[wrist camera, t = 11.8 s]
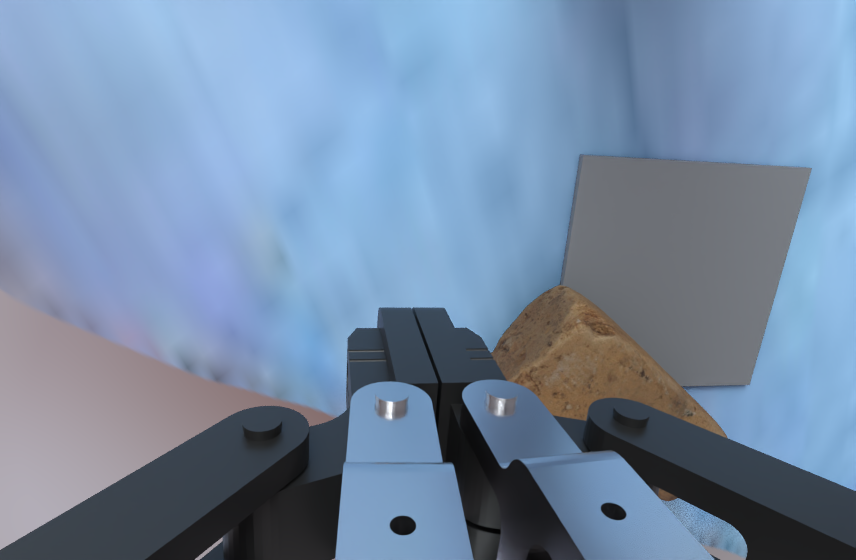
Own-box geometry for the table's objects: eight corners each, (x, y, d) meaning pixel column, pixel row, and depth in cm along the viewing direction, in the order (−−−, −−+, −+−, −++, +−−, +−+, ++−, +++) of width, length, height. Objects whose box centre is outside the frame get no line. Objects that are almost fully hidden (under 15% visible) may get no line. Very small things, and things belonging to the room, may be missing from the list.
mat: (580, 154, 42) (583, 155, 42) (805, 167, 46) (811, 168, 45) (544, 386, 48) (546, 389, 48) (744, 381, 52) (749, 384, 51)
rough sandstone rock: (598, 302, 37) (750, 447, 44) (555, 267, 44) (692, 397, 51) (488, 414, 39) (651, 537, 46) (462, 362, 46) (608, 476, 53)
